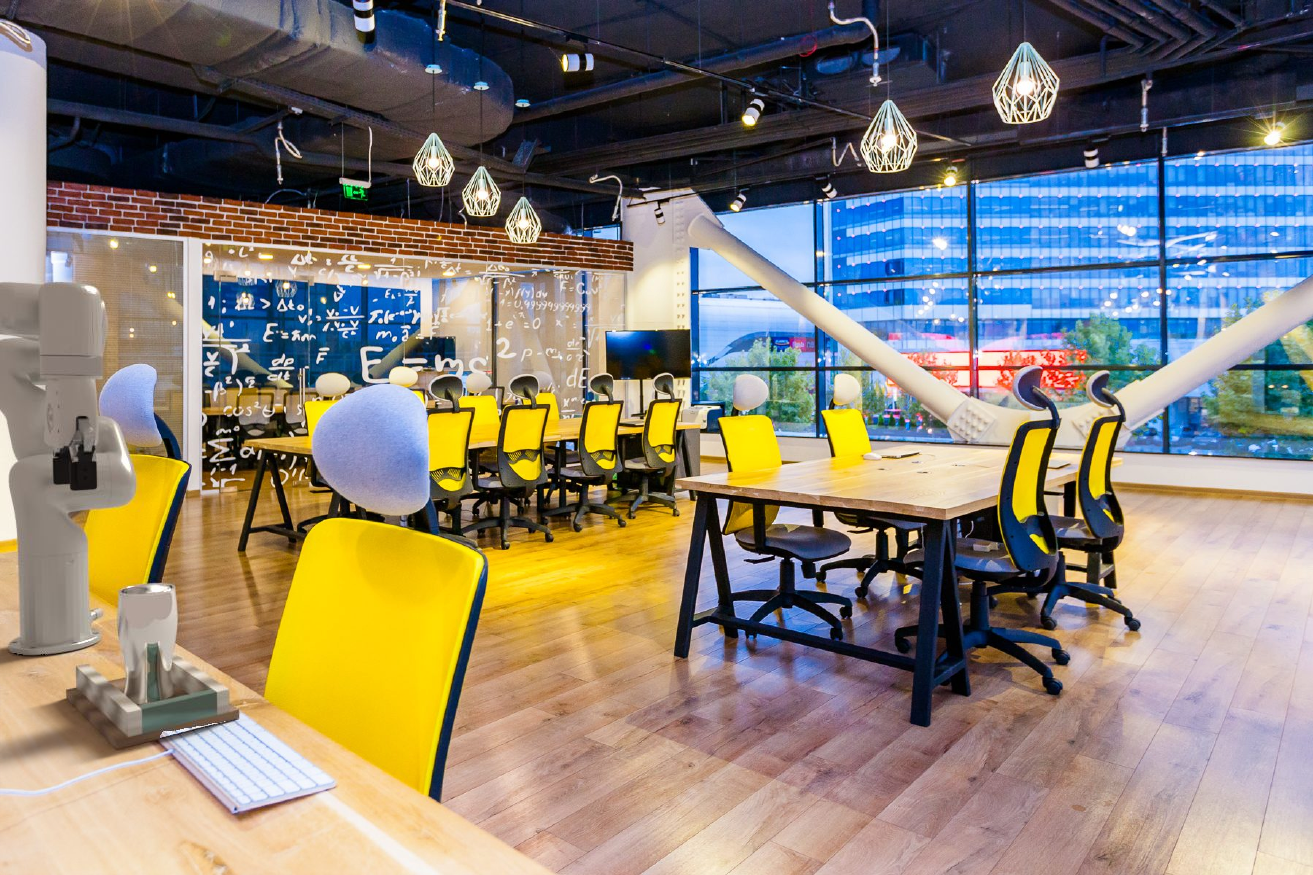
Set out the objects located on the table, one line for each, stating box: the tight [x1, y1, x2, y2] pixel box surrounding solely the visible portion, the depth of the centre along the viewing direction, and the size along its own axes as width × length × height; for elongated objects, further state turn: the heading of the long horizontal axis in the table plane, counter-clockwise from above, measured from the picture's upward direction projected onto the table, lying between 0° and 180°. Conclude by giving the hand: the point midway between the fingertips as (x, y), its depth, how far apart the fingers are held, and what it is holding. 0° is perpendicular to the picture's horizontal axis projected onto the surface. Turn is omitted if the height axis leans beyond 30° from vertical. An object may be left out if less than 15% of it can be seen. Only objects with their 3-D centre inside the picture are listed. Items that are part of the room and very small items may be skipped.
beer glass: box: [116, 582, 179, 706], centre depth 116 cm, size 7×7×15 cm
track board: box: [65, 652, 240, 751], centre depth 116 cm, size 24×14×4 cm, turn 46°
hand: (74, 486), depth 126 cm, fingers open, 9 cm apart
